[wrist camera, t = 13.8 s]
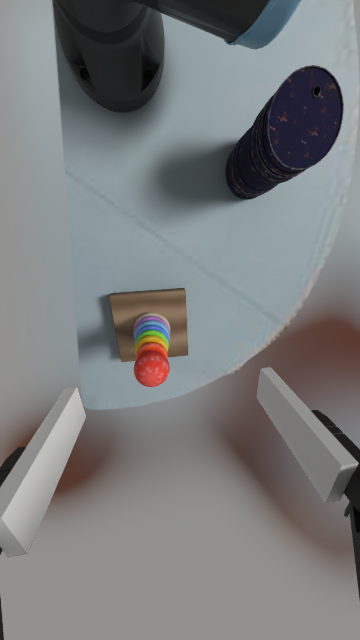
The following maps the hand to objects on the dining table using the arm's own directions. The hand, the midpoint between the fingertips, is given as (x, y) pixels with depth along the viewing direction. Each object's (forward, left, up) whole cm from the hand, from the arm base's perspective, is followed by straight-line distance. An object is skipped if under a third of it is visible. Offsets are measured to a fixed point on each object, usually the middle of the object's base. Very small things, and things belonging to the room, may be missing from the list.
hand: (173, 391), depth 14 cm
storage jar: (-24, +19, -32) cm, 44 cm away
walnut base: (+6, -3, -32) cm, 32 cm away
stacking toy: (+6, -3, -29) cm, 30 cm away
